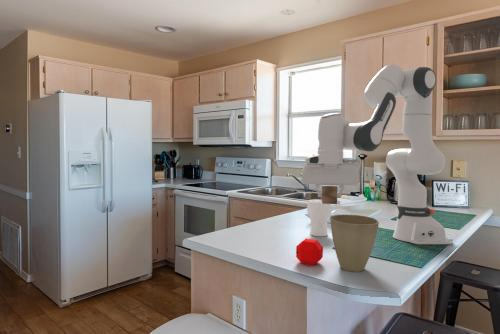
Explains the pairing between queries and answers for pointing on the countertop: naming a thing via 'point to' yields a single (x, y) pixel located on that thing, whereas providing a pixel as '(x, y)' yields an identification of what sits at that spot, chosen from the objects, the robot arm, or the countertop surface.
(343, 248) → the plant pot
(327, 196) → the walnut block
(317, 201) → the cup
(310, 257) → the ball
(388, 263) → the countertop surface
